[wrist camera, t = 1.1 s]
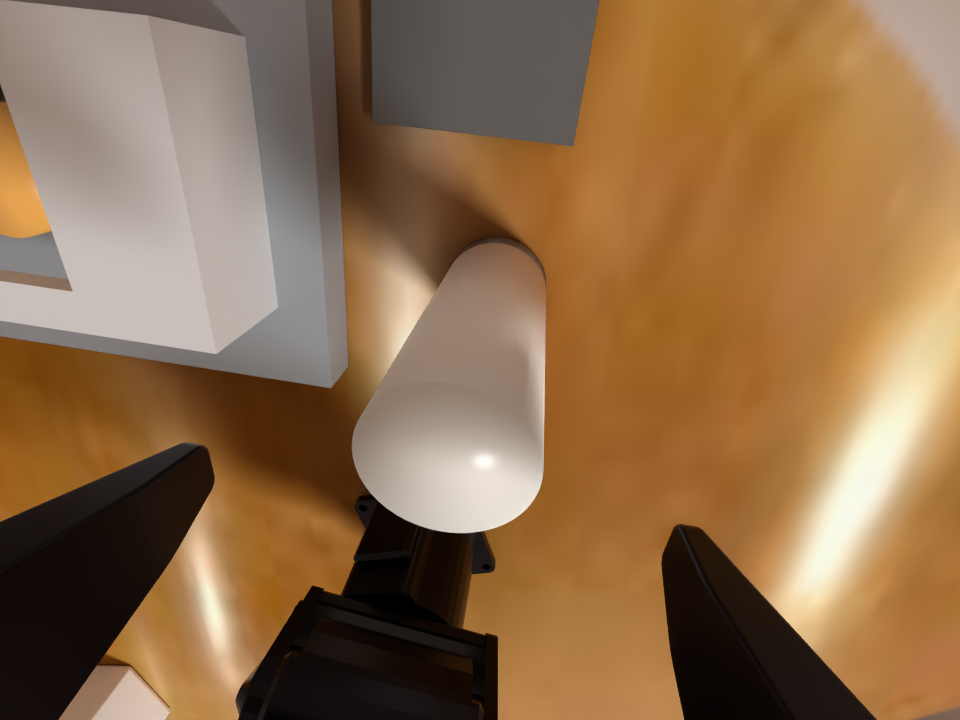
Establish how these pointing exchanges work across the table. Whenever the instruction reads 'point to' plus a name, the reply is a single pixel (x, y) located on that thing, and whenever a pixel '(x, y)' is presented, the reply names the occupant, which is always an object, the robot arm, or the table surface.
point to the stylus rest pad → (482, 65)
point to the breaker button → (17, 186)
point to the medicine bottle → (115, 697)
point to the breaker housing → (179, 183)
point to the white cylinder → (464, 398)
